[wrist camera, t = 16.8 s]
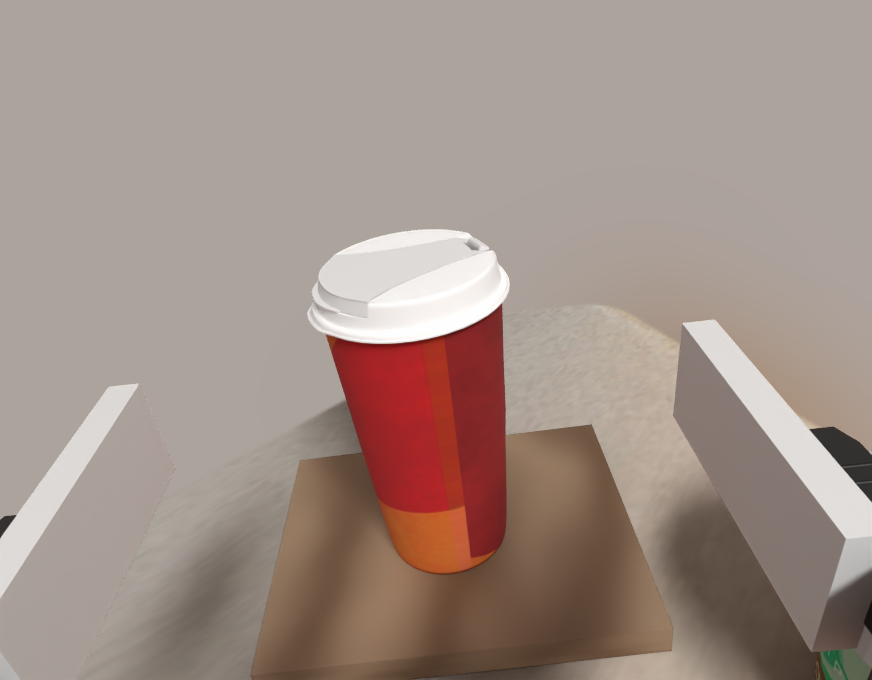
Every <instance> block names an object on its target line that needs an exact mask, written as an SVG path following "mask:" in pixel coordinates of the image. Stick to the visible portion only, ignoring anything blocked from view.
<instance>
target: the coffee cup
mask: <svg viewBox="0 0 872 680" xmlns="http://www.w3.org/2000/svg"><path fill="white" fill-rule="evenodd" d="M487 250H489V247H488V246H486V245H485V244H483V243H482V242H481V241H479V240H478V239H476V238H472V236H471V235H469V233H465V232H461V231H453V230H441V229H439V230H438V229H437V230H436V229H429V230H428V229H427V230H413V231H405V232H399V233H393V234H388V235H384V236H379V237H376V238H372V239H369V240H366V241H363V242H360V243H357V244H355V245H353V246H350V247H348V248H346V249H344V250H342V251H340V252H338V253H337V254H335V255H334V256H333V257H332V258H331V259H330V260H329V261H328V262H327V263H326V264H325V265H324V266H323V267H322V268H321V270H320V272H319V277H318V279H319V281H317V283H316V284H315V286H314V287H313V290H312V298H313V302H312V305H311V307H310V309H309V311H308V312H307V315H308V318H309V322H310V323H311V324H312V326H313V327H314V328H315V329H316V330H318V331H319V332H320V333H323V334H326V337H327V340H328V343H329V346H330V349H331V352H332V355H333V359H334V362H335V365H336V368H337V372H338V375H339V378H340V381H341V384H342V388H343V391H344V394H345V397H346V400H347V404H348V407H349V410H350V413H351V416H352V420H353V423H354V426H355V429H356V432H357V436H358V439H359V442H360V445H361V448H362V451H363V455H364V458H365V461H366V464H367V467H368V470H369V473H370V477H371V480H372V483H373V486H374V489H375V492H376V495H377V498H378V501H379V505H380V508H381V511H382V514H383V517H384V520H385V523H386V526H387V528H388V531H389V534H390V537H391V540H392V542H393V545H394V547H395V549H396V551H397V553H398V554H399V556H400V557H401V558H402V559H403V560H404V561H405V562H406V563H407V564H409V565H410V566H412V567H413V568H415V569H418V570H420V571H423V572H426V573H431V574H439V575H447V574H456V573H461V572H465V571H468V570H471V569H473V568H475V567H477V566H479V565H481V564H482V563H484V562H485V561H487V560H488V559H489V558H491V557H492V556H493V555H494V554H495V552H496V551H497V550H498V549H499V547H500V545H501V544H502V542H503V539H504V536H505V531H506V518H507V486H506V437H505V413H506V408H505V384H504V359H503V321H502V302H503V301H504V300H505V298H506V296H507V294H508V292H509V287H510V284H509V278H508V276H507V274H506V273H505V271H504V270H503V268H502V267H501V266H500V265H499V264H498V262H497V258H496V254H495V253H494V252H493V250H491V251H487Z"/></svg>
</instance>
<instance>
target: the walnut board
mask: <svg viewBox="0 0 872 680" xmlns="http://www.w3.org/2000/svg"><path fill="white" fill-rule="evenodd" d="M505 437H506V486H507V518H506V531H505V536H504V539H503V542H502V544H501V545H500V547H499V549H498V550H497V551H496V552H495V554H494V555H493V556H492V557H491V558H489V559H488V560H487V561H485V562H484V563H482V564H481V565H479V566H477V567H475V568H473V569H471V570H468V571H465V572H461V573H456V574H447V575H439V574H431V573H426V572H423V571H420V570H418V569H415V568H413V567H412V566H410V565H409V564H407V563H406V562H405V561H404V560H403V559H402V558H401V557H400V556H399V554H398V553H397V551H396V549H395V547H394V545H393V542H392V540H391V537H390V534H389V531H388V528H387V526H386V523H385V520H384V517H383V514H382V511H381V508H380V505H379V501H378V498H377V495H376V492H375V489H374V486H373V483H372V480H371V477H370V473H369V470H368V467H367V464H366V461H365V458H364V455H363V453H357V454H348V455H340V456H332V457H324V458H316V459H308V460H300V463H299V467H298V472H297V476H296V480H295V485H294V489H293V493H292V498H291V502H290V506H289V511H288V515H287V519H286V524H285V528H284V532H283V537H282V541H281V545H280V550H279V554H278V558H277V563H276V567H275V571H274V576H273V580H272V584H271V589H270V593H269V597H268V602H267V606H266V610H265V615H264V619H263V623H262V628H261V632H260V636H259V641H258V645H257V649H256V654H255V658H254V662H253V667H252V671H251V675H250V676H251V678H252V680H410V679H419V678H429V677H438V676H447V675H456V674H465V673H474V672H483V671H492V670H501V669H510V668H519V667H528V666H537V665H546V664H555V663H565V662H574V661H583V660H592V659H601V658H610V657H619V656H628V655H637V654H646V653H655V652H664V651H671V650H672V638H673V626H672V624H671V621H670V619H669V616H668V614H667V611H666V609H665V606H664V604H663V601H662V599H661V596H660V594H659V591H658V589H657V586H656V584H655V581H654V579H653V576H652V574H651V571H650V569H649V566H648V564H647V561H646V559H645V557H644V554H643V552H642V549H641V547H640V544H639V542H638V539H637V537H636V534H635V532H634V529H633V527H632V524H631V522H630V519H629V517H628V514H627V512H626V509H625V507H624V504H623V502H622V499H621V497H620V494H619V492H618V489H617V487H616V484H615V482H614V479H613V477H612V474H611V472H610V469H609V467H608V464H607V462H606V459H605V457H604V454H603V452H602V449H601V447H600V444H599V442H598V439H597V437H596V434H595V432H594V429H593V427H592V425H584V426H576V427H568V428H559V429H551V430H543V431H535V432H527V433H519V434H511V435H505Z"/></svg>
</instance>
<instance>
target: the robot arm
mask: <svg viewBox="0 0 872 680" xmlns="http://www.w3.org/2000/svg"><path fill="white" fill-rule="evenodd" d="M673 416H674V418H675V420H676V421H677V423H678V425H679V427H680V428H681V430H682V432H683V433H684V435H685V437H686V439H687V440H688V442H689V444H690V445H691V447H692V449H693V451H694V452H695V454H696V456H697V457H698V459H699V461H700V463H701V464H702V466H703V468H704V469H705V471H706V473H707V475H708V476H709V478H710V480H711V481H712V483H713V485H714V487H715V488H716V490H717V492H718V493H719V495H720V497H721V499H722V500H723V502H724V504H725V505H726V507H727V509H728V511H729V512H730V514H731V516H732V517H733V519H734V521H735V523H736V524H737V526H738V528H739V529H740V531H741V533H742V535H743V536H744V538H745V540H746V541H747V543H748V545H749V547H750V548H751V550H752V552H753V553H754V555H755V557H756V559H757V560H758V562H759V564H760V565H761V567H762V569H763V571H764V572H765V574H766V576H767V577H768V579H769V581H770V583H771V584H772V586H773V588H774V589H775V591H776V593H777V595H778V596H779V598H780V600H781V601H782V603H783V605H784V607H785V608H786V610H787V612H788V613H789V615H790V617H791V619H792V620H793V622H794V624H795V625H796V627H797V629H798V631H799V632H800V634H801V636H802V637H803V639H804V641H805V643H806V644H807V646H808V648H809V649H810V651H811V652H821V651H831V650H842V649H852V648H857V646H858V643H859V641H860V638H861V635H862V632H863V630H864V627H865V626H866V627H867V629H868V630H869V632H870V633H871V634H872V455H871V454H870V453H869V452H868V451H867V450H866V449H865V448H864V446H863V445H862V444H861V443H860V442H858V441H857V440H855V439H853V438H851V437H850V436H848V435H846V434H845V433H843V432H841V431H840V430H838V429H836V428H835V427H826V428H816V429H808V428H807V427H806V425H805V424H804V423H803V422H802V421H801V420H800V418H799V417H798V416H797V415H796V414H795V413H794V411H793V410H792V409H791V408H790V407H789V406H788V404H787V403H786V402H785V401H784V400H783V399H782V397H781V396H780V395H779V394H778V393H777V392H776V390H775V389H774V388H773V387H772V386H771V385H770V383H769V382H768V381H767V380H766V379H765V378H764V377H763V375H762V374H761V373H760V372H759V371H758V370H757V368H756V367H755V366H754V365H753V364H752V362H751V361H750V360H749V359H748V358H747V357H746V356H745V354H744V353H743V352H742V351H741V350H740V348H739V347H738V346H737V345H736V344H735V343H734V341H733V340H732V339H731V338H730V337H729V336H728V335H727V333H726V332H725V331H724V330H723V329H722V328H721V326H720V325H719V324H718V323H717V322H716V321H715V320H706V321H697V322H688V323H683V324H682V331H681V341H680V351H679V361H678V372H677V382H676V392H675V402H674V412H673ZM174 471H175V467H174V465H173V462H172V460H171V458H170V455H169V453H168V450H167V448H166V445H165V443H164V441H163V439H162V436H161V434H160V431H159V429H158V426H157V424H156V422H155V419H154V417H153V414H152V412H151V410H150V407H149V405H148V402H147V400H146V397H145V395H144V393H143V390H142V388H141V386H140V384H130V385H121V386H112V387H108V389H107V390H106V391H105V393H104V394H103V396H102V397H101V399H100V400H99V401H98V403H97V404H96V405H95V407H94V408H93V410H92V411H91V412H90V414H89V415H88V417H87V418H86V419H85V421H84V423H83V424H82V425H81V426H80V428H79V429H78V431H77V432H76V433H75V435H74V436H73V438H72V439H71V440H70V442H69V443H68V445H67V446H66V447H65V449H64V450H63V452H62V453H61V454H60V456H59V457H58V458H57V460H56V462H55V463H54V464H53V465H52V467H51V468H50V470H49V471H48V472H47V474H46V475H45V477H44V478H43V479H42V481H41V482H40V484H39V485H38V486H37V488H36V489H35V491H34V492H33V493H32V495H31V496H30V498H29V499H28V500H27V502H26V503H25V505H24V506H23V507H22V509H21V510H20V512H19V513H18V515H13V516H4V517H3V518H2V519H1V520H0V680H77V679H78V676H79V674H80V672H81V670H82V668H83V666H84V664H85V662H86V659H87V657H88V655H89V653H90V651H91V649H92V647H93V644H94V642H95V640H96V638H97V636H98V634H99V632H100V629H101V627H102V625H103V623H104V621H105V619H106V617H107V614H108V612H109V610H110V608H111V606H112V604H113V602H114V599H115V597H116V595H117V593H118V591H119V589H120V587H121V584H122V582H123V580H124V578H125V576H126V574H127V572H128V569H129V567H130V565H131V563H132V561H133V559H134V557H135V554H136V552H137V550H138V548H139V546H140V544H141V542H142V539H143V537H144V535H145V533H146V531H147V529H148V527H149V524H150V522H151V520H152V518H153V516H154V514H155V512H156V510H157V507H158V505H159V503H160V501H161V499H162V497H163V495H164V492H165V490H166V488H167V486H168V484H169V482H170V480H171V477H172V475H173V473H174ZM867 680H872V669H871V672H870V674H869V677H868V679H867Z"/></svg>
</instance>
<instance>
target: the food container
mask: <svg viewBox="0 0 872 680" xmlns="http://www.w3.org/2000/svg"><path fill="white" fill-rule="evenodd" d="M869 453H870V454H871V455H872V450H871V451H869ZM871 669H872V634H871V633H870V632H869V630H868V629H867V627H866V626H865V627H864V630H863V632H862V635H861V638H860V641H859V643H858V646H857V648H852V649H842V650H831V651H821V652H817V658H816V666H815V675H814V680H867V679H868V677H869V674H870V672H871Z"/></svg>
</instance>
